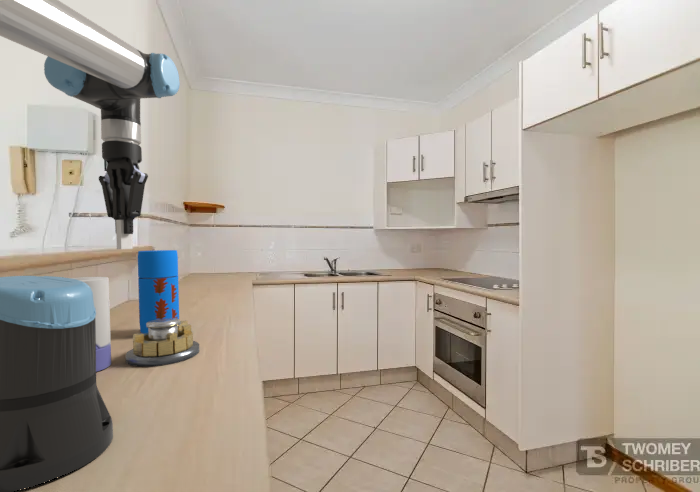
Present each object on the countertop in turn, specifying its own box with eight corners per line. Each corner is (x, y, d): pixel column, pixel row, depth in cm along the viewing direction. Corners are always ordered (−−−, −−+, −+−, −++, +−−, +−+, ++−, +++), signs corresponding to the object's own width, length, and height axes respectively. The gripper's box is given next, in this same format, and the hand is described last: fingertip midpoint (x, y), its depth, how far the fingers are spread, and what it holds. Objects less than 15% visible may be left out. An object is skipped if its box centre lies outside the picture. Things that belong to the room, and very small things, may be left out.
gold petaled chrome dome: (178, 355, 82) (177, 336, 82) (121, 356, 82) (120, 337, 82) (209, 333, 101) (209, 317, 101) (163, 334, 101) (163, 318, 101)
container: (98, 358, 86) (95, 275, 86) (120, 365, 81) (117, 277, 81) (46, 372, 78) (43, 280, 77) (67, 381, 73) (64, 282, 72)
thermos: (142, 330, 113) (139, 250, 113) (179, 326, 118) (177, 249, 117) (138, 338, 103) (135, 251, 103) (179, 334, 108) (177, 250, 107)
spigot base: (160, 370, 78) (159, 332, 78) (109, 362, 84) (108, 326, 84) (214, 348, 93) (214, 316, 93) (169, 342, 99) (168, 312, 99)
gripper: (157, 144, 82) (160, 248, 82) (118, 150, 86) (120, 248, 87) (126, 135, 75) (129, 249, 75) (85, 142, 79) (88, 249, 80)
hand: (124, 248), depth 81 cm, fingers closed
